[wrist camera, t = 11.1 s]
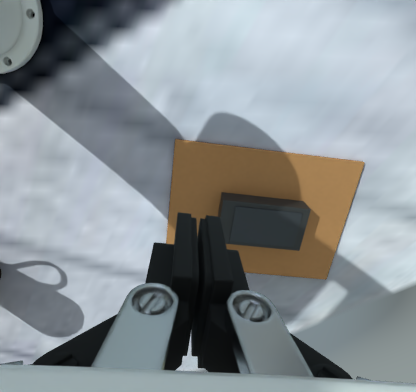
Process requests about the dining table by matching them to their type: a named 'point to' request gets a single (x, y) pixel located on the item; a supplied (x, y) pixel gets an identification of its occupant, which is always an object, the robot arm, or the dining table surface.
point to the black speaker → (263, 221)
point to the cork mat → (267, 187)
